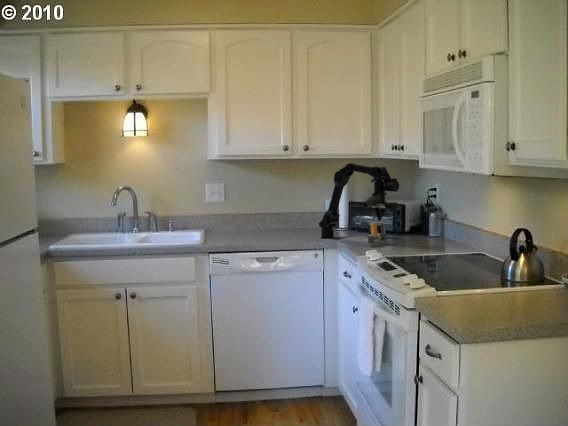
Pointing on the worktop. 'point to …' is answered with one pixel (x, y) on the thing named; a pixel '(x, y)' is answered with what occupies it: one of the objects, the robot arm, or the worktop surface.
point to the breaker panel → (366, 240)
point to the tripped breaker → (374, 230)
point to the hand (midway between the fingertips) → (379, 220)
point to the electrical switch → (379, 227)
